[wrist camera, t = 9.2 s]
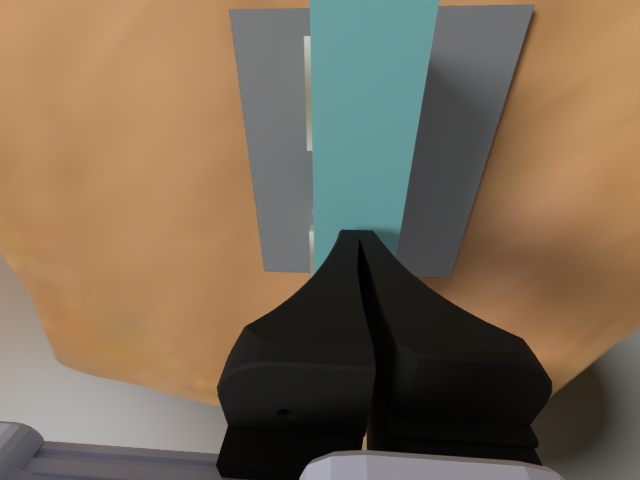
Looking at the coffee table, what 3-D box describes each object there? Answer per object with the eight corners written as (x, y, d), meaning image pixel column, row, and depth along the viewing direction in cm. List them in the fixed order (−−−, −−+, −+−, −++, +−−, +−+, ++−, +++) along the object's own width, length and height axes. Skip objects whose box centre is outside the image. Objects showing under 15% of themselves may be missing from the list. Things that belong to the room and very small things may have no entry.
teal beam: (370, 299, 20) (378, 360, 16) (321, 297, 21) (316, 357, 16) (404, 21, 12) (439, -3, 8) (320, 22, 12) (309, -1, 8)
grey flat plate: (448, 273, 24) (450, 278, 24) (265, 267, 25) (264, 271, 25) (528, 6, 15) (534, 4, 14) (232, 11, 16) (229, 9, 15)
